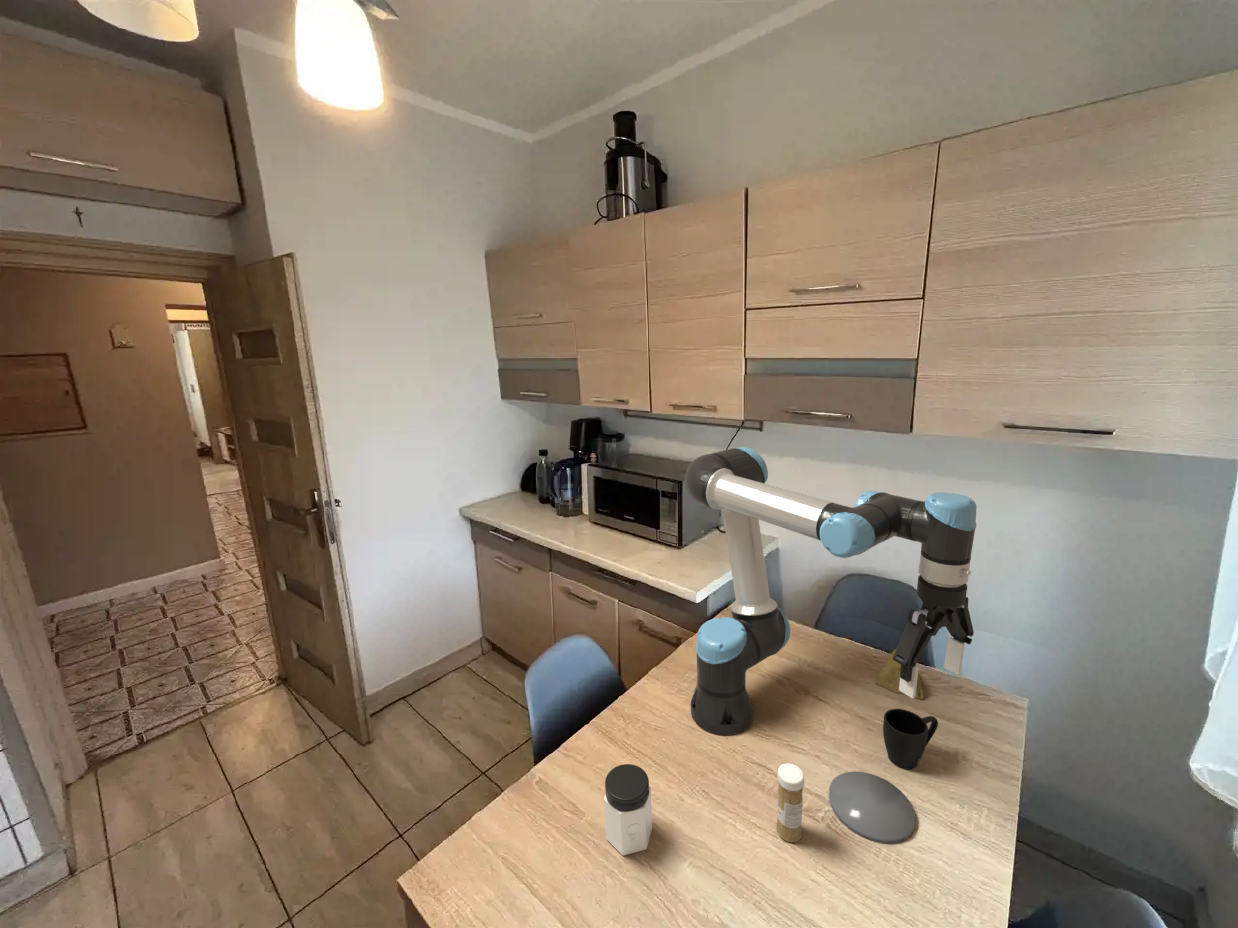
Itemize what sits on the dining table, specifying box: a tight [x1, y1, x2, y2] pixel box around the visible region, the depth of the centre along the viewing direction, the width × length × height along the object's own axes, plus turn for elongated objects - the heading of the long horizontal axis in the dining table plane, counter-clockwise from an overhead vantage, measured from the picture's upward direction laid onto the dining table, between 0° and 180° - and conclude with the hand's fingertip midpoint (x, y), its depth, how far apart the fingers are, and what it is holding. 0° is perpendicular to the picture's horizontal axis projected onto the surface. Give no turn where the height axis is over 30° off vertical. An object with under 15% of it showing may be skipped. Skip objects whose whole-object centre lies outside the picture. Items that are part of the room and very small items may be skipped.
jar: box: [603, 763, 653, 856], centre depth 94 cm, size 9×8×12 cm
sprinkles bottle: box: [775, 763, 805, 843], centre depth 93 cm, size 5×5×13 cm
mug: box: [882, 708, 939, 771], centre depth 109 cm, size 8×12×10 cm
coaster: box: [828, 770, 916, 844], centre depth 99 cm, size 15×15×1 cm
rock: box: [874, 647, 927, 700], centre depth 130 cm, size 11×9×10 cm
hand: (930, 681), depth 96 cm, fingers open, 13 cm apart
